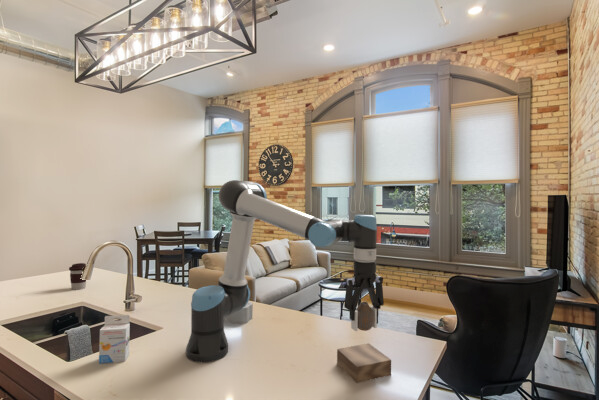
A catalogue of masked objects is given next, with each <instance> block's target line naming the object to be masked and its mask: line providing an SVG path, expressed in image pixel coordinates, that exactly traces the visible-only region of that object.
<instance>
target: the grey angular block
mask: <svg viewBox="0 0 599 400" xmlns="http://www.w3.org/2000/svg"><path fill="white" fill-rule="evenodd" d="M253 311H254V310H253V302H252V301H250V300H249V301H248V303H247V304H246V305H245V306H244V307H243V308H242V309H241V310H239V311H237V312H234V313H233V314H231V315H229V316H227V317H225V318H224V321H225V322H228V323H230V324H231V323H232V324H239V325H242V324H247V323H249V321H251V320H253V316H254V315H253Z"/></svg>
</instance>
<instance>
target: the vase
mask: <svg viewBox="0 0 599 400" xmlns="http://www.w3.org/2000/svg"><path fill="white" fill-rule="evenodd" d="M370 307H371V306H370V304H369V303H368V302H367V301H361V302H360V303H359V305H357V307H356V311H358V330H359V331H365V332H366V331H370V330H371V329H372V328H374V327H373V325H374V313H373V311H372V309H371V308H370Z"/></svg>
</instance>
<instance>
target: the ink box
mask: <svg viewBox="0 0 599 400" xmlns="http://www.w3.org/2000/svg"><path fill="white" fill-rule="evenodd" d="M115 319H116V320H115ZM118 319H119V320H118ZM130 325H131V323H130V315H129V314H123V315H122V314H118V315H117V314H116V315H105V316H104V325H103V326H102V327H101V328H100V329H99V345H98V347H99V348H98V349H99V351H98V353H99V355H98V364H109V363H121V362H122V363H123V362H124V363H125V362H126V361H127V360H128V357H129V356H130V330H131V328H130V327H131V326H130Z"/></svg>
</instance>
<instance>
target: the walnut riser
mask: <svg viewBox="0 0 599 400" xmlns="http://www.w3.org/2000/svg"><path fill="white" fill-rule="evenodd" d="M336 363H337V365H339V367H341V369H342V370H343V371H344V372H345V373H346V374H347V375H349V377H350V378H351V379H353V381H355V383H358V384H359V383H362V382H366V381H370V379H371V380H375V378H376V379H380V378H384V376H385V377H389V376H392V359H391V358H390V357H388V356H387V355H385V354H384V353H383V352H382V351H380V350H379V349H377V348H375V347H374V346H373V345H372V344H370V343H364V344H358V345H351V346H346V347H341V348H337V352H336ZM379 377H380V378H379Z"/></svg>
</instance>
